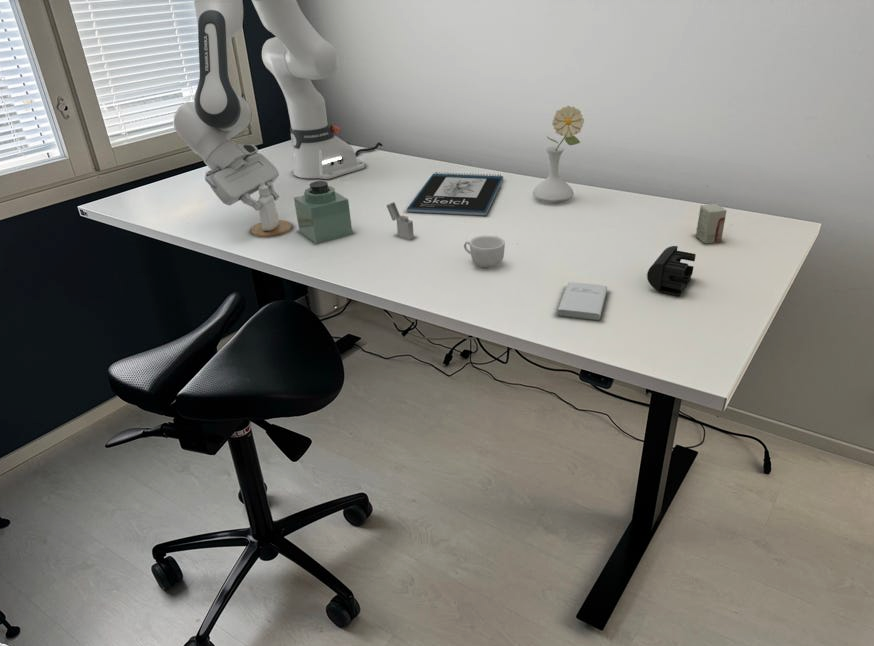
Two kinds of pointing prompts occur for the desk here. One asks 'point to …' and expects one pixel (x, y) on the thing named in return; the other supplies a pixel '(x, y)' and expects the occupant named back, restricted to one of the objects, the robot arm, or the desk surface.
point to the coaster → (281, 229)
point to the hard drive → (582, 301)
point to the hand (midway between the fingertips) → (268, 203)
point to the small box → (711, 223)
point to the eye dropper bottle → (267, 209)
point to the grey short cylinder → (319, 187)
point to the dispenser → (323, 215)
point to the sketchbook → (457, 194)
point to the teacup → (486, 251)
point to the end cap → (671, 271)
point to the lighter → (401, 222)
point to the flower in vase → (553, 185)
